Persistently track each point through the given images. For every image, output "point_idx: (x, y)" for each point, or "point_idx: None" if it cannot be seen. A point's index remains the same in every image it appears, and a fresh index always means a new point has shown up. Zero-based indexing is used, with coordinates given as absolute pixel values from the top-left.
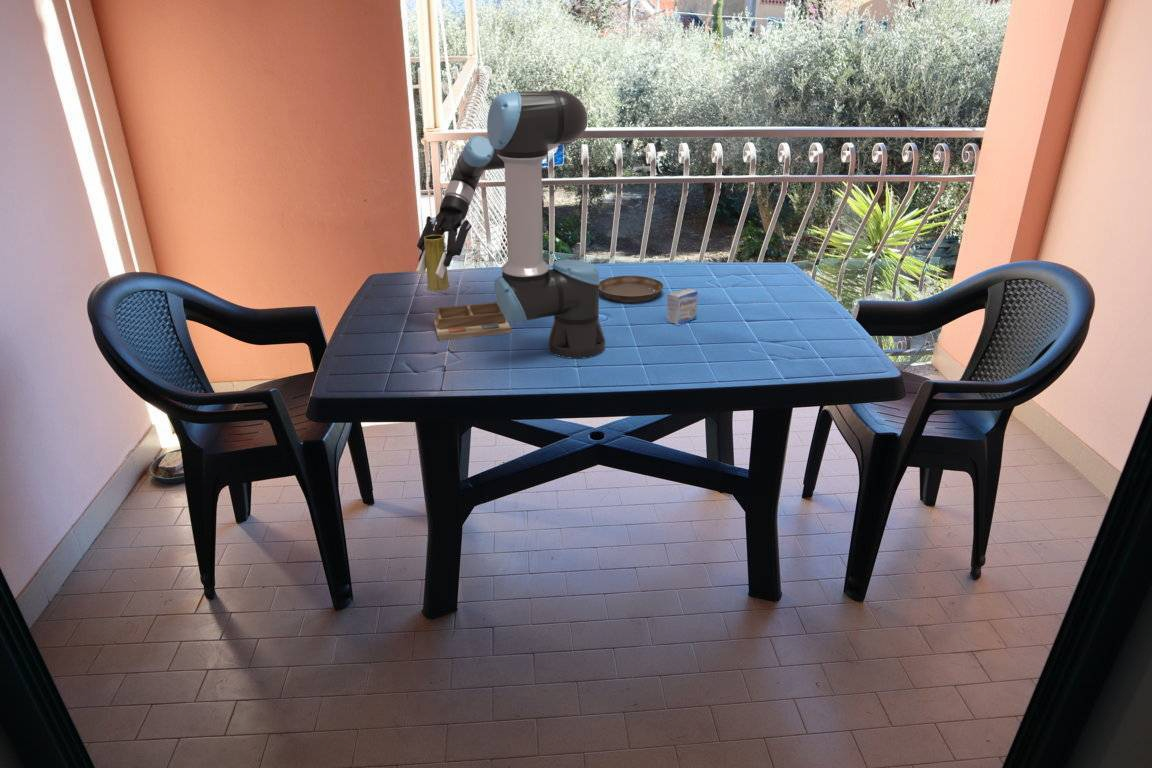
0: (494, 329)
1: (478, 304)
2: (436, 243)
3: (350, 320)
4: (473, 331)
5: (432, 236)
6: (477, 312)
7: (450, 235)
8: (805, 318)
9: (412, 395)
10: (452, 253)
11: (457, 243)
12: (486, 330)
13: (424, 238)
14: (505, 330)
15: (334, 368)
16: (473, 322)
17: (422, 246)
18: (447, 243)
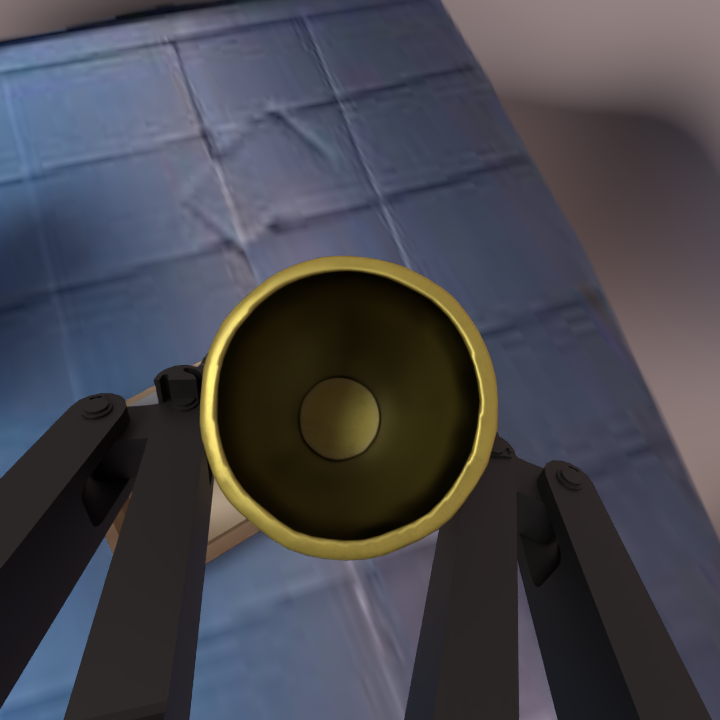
0: (128, 399)
1: (219, 544)
2: (272, 310)
3: (651, 399)
4: (196, 364)
5: (427, 516)
6: (232, 527)
7: (125, 612)
8: None
9: (230, 11)
10: (156, 410)
11: (34, 472)
12: (154, 385)
13: (452, 296)
14: None
15: (482, 97)
16: None
17: (526, 486)
18: (194, 477)
